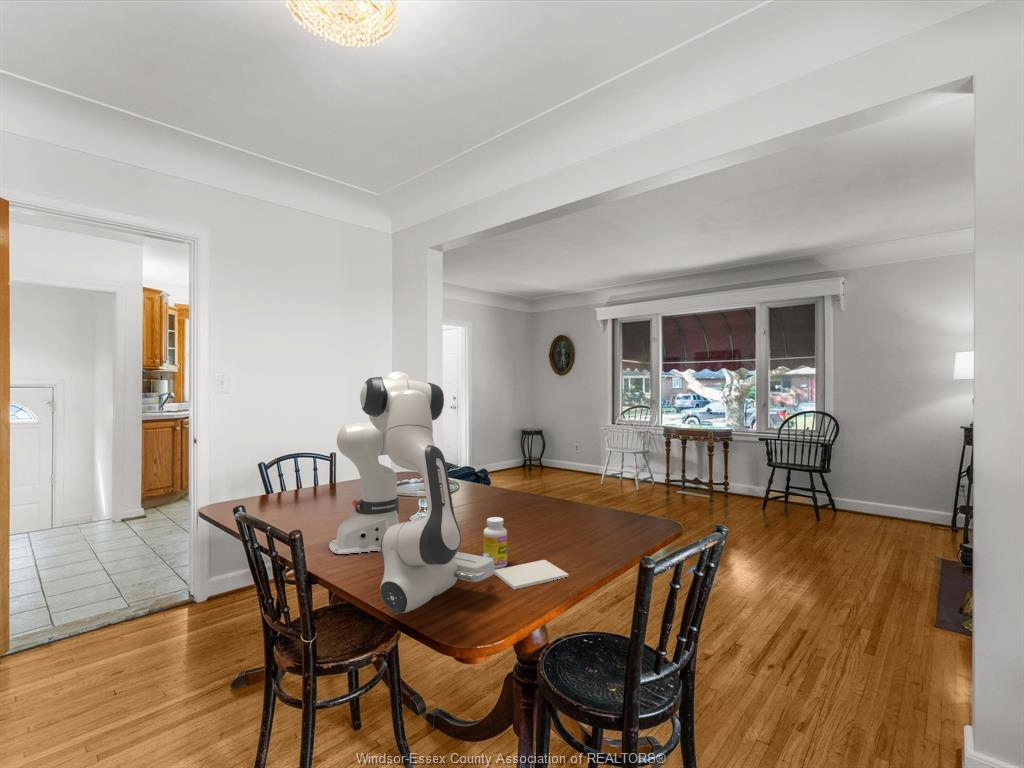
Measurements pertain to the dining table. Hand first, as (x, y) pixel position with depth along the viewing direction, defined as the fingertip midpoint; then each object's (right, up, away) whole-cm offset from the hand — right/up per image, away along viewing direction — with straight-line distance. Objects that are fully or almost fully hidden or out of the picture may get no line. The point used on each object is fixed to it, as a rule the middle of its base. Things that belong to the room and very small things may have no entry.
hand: (471, 553), depth 127 cm
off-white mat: (+15, -7, +3) cm, 17 cm away
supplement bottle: (+6, -7, +11) cm, 14 cm away
